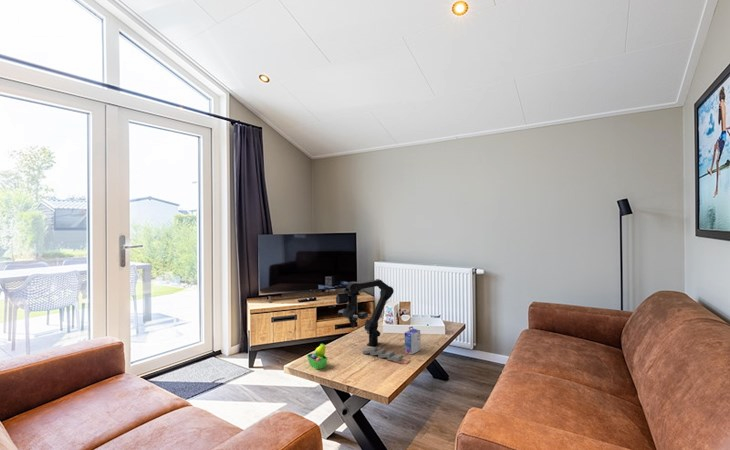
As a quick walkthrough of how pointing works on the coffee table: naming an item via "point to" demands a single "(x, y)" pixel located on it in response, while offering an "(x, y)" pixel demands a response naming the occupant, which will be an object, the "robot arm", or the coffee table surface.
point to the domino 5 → (402, 361)
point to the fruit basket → (318, 357)
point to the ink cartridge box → (412, 341)
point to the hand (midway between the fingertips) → (352, 327)
